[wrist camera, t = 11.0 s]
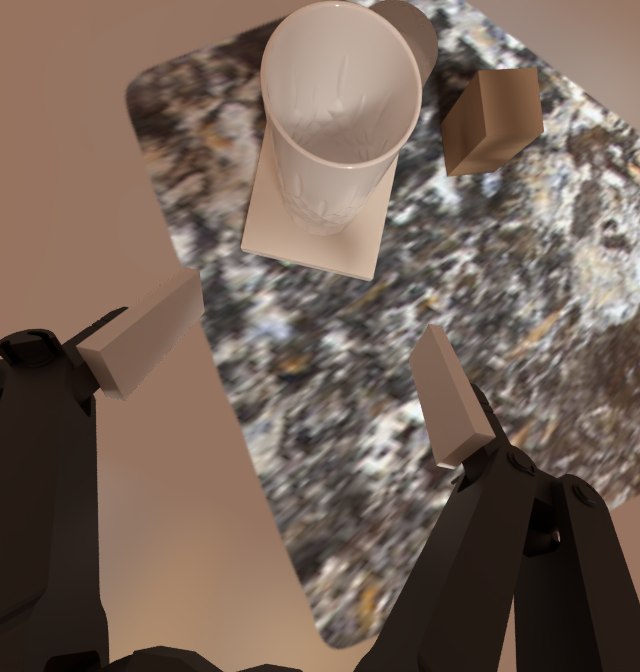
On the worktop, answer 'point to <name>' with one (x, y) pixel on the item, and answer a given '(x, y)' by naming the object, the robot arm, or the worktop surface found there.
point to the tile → (308, 249)
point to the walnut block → (492, 121)
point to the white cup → (336, 109)
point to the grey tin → (412, 32)
